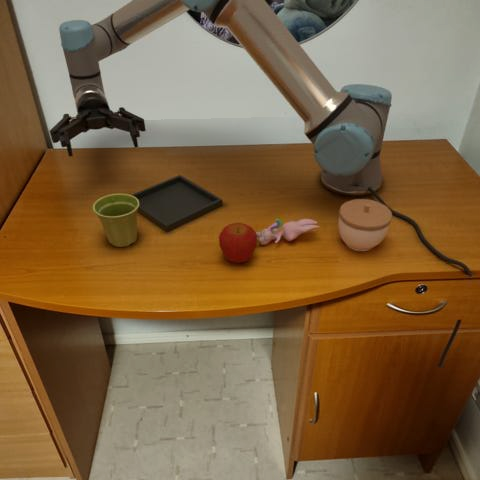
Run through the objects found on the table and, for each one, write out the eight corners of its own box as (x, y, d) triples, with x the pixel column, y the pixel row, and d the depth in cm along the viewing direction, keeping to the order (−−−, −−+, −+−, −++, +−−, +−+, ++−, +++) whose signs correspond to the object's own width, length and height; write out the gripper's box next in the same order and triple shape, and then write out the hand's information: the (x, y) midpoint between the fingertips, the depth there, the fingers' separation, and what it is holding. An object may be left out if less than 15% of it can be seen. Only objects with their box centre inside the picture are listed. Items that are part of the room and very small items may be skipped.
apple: (255, 246, 104) (256, 215, 98) (257, 269, 98) (258, 237, 93) (219, 247, 104) (218, 215, 98) (219, 270, 98) (218, 238, 92)
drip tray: (222, 205, 116) (222, 199, 114) (167, 232, 107) (166, 226, 106) (180, 180, 124) (179, 174, 123) (125, 203, 116) (124, 197, 115)
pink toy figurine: (256, 256, 103) (323, 239, 104) (252, 234, 99) (322, 216, 99) (250, 240, 108) (314, 223, 108) (246, 217, 103) (313, 200, 104)
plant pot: (103, 228, 109) (95, 193, 102) (145, 226, 109) (140, 192, 103) (98, 253, 102) (89, 218, 96) (143, 251, 102) (137, 215, 96)
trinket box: (384, 260, 100) (395, 222, 94) (332, 254, 102) (339, 216, 95) (384, 232, 108) (393, 194, 101) (336, 226, 109) (342, 189, 103)
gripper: (147, 117, 120) (164, 154, 105) (43, 130, 115) (45, 171, 100) (142, 85, 115) (159, 119, 100) (33, 98, 109) (34, 135, 95)
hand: (102, 145), depth 100 cm, fingers open, 13 cm apart
